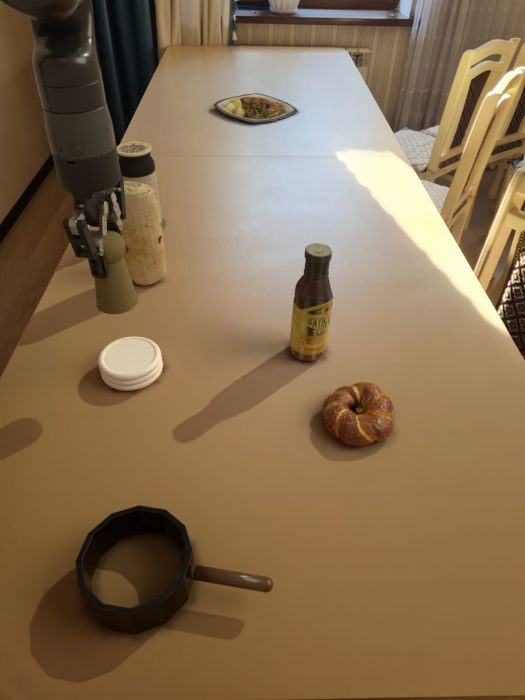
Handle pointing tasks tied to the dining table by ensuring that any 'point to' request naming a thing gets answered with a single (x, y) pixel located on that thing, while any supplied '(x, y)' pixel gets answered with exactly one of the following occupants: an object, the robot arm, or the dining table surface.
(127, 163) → the travel mug
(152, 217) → the food model
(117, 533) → the pan
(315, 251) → the sauce bottle
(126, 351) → the coaster
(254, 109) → the meal
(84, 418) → the dining table surface
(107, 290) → the olive green pawn
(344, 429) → the pretzel
